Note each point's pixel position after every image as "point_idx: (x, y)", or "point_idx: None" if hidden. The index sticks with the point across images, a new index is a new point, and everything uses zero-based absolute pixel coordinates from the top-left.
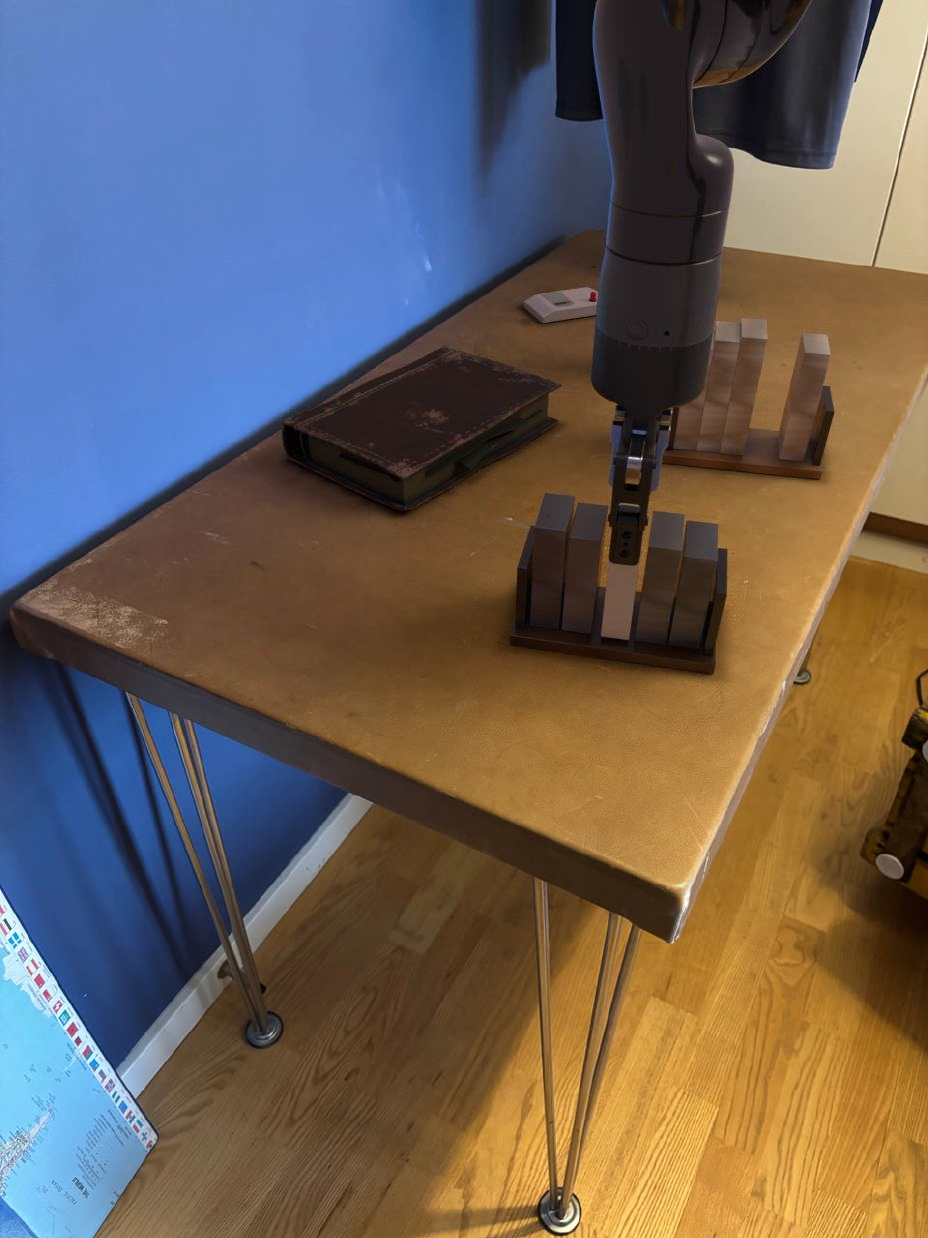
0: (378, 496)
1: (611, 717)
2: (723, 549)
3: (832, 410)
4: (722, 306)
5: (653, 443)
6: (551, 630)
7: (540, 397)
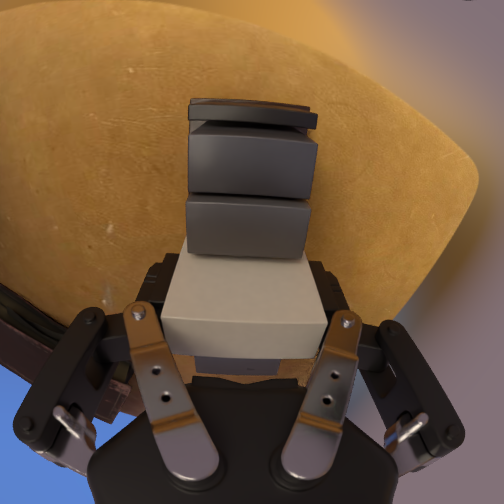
0: (128, 375)
1: (367, 205)
2: (192, 110)
3: None
4: None
5: (394, 464)
6: None
7: None
